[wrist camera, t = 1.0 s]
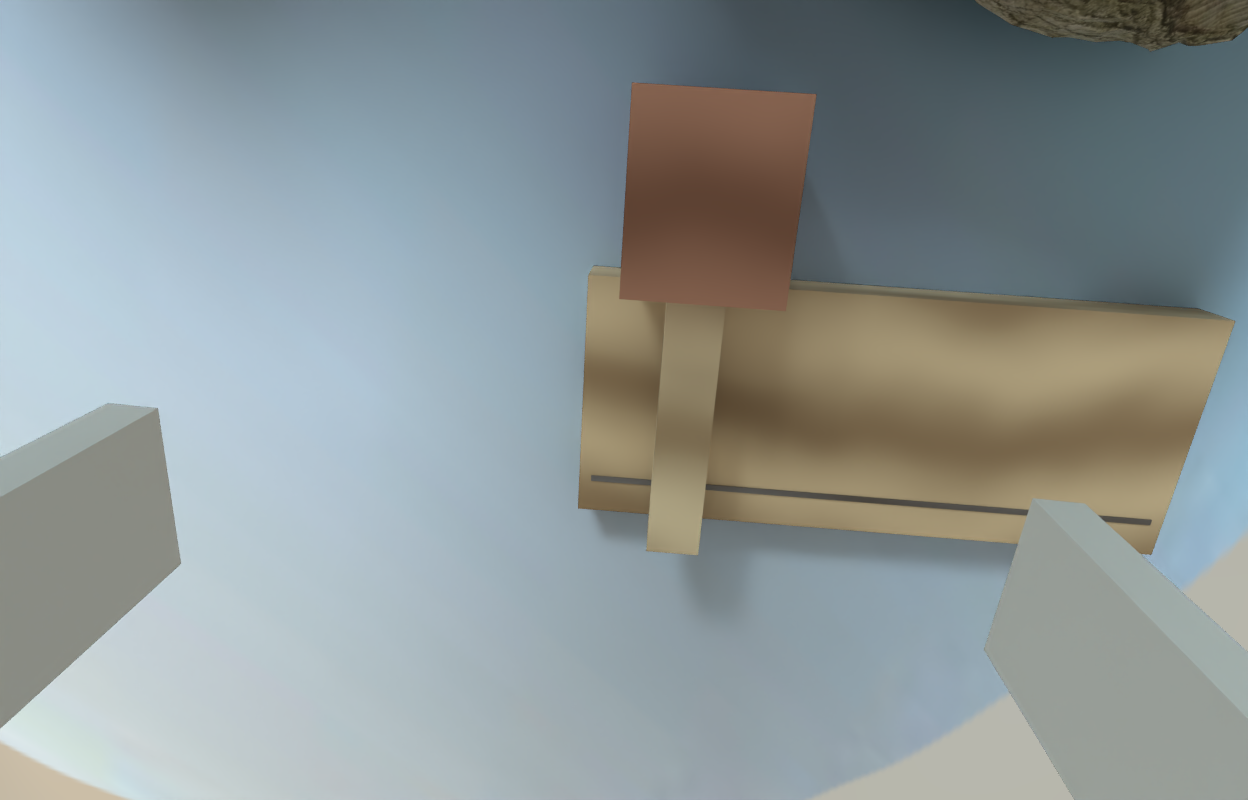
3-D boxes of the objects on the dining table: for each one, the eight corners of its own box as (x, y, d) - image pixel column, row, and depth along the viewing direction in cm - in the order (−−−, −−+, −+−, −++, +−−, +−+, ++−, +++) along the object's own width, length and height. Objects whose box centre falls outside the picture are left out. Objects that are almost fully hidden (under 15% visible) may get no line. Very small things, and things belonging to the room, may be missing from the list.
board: (593, 265, 30) (588, 275, 28) (1198, 308, 29) (1236, 321, 27) (583, 486, 33) (577, 508, 31) (1123, 530, 33) (1152, 555, 31)
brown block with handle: (641, 94, 28) (632, 82, 20) (775, 103, 27) (816, 94, 20) (616, 488, 33) (601, 593, 26) (727, 497, 33) (744, 605, 26)
